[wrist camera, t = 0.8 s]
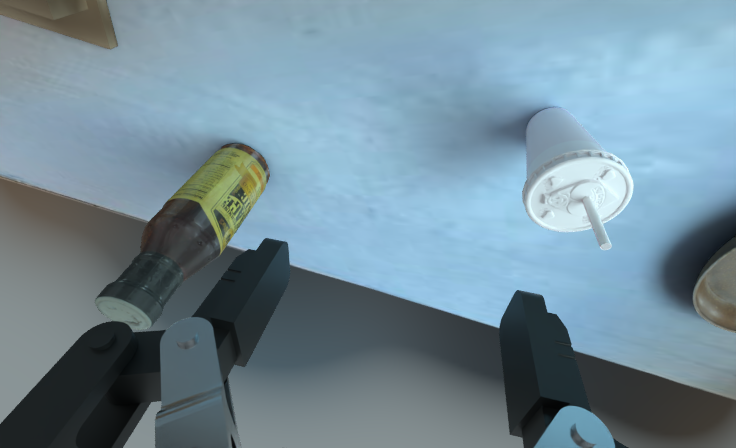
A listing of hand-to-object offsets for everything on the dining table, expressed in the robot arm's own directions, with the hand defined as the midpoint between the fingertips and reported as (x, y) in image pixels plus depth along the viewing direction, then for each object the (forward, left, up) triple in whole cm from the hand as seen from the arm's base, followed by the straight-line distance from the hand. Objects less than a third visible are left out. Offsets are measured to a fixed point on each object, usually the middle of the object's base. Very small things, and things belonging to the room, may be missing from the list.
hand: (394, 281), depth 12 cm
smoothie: (+2, +12, -22) cm, 25 cm away
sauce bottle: (+16, -15, -22) cm, 32 cm away
